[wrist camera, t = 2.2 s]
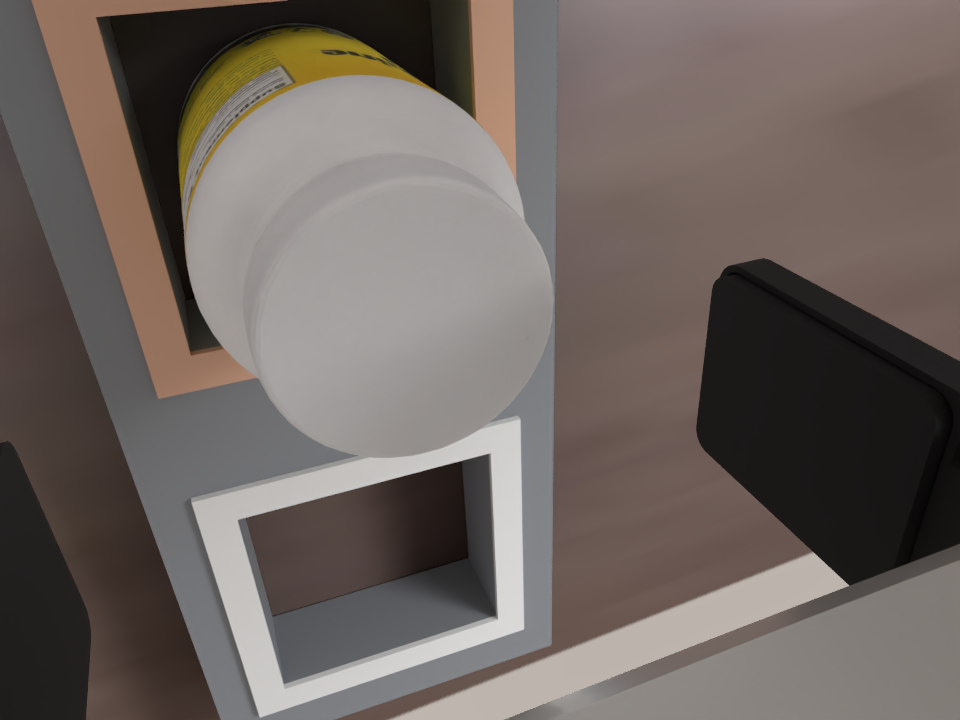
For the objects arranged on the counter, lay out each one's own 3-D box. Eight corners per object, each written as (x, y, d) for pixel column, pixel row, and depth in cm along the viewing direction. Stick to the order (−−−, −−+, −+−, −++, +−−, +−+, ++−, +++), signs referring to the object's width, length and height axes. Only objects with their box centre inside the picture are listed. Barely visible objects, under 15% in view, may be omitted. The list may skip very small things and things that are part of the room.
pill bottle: (458, 138, 22) (669, 304, 13) (311, 294, 23) (415, 553, 14) (288, -43, 18) (419, 14, 9) (120, 151, 19) (92, 376, 10)
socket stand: (507, -160, 19) (563, -169, 16) (521, 589, 32) (553, 648, 30) (-56, -141, 15) (-98, -148, 13) (226, 682, 29) (233, 759, 26)
